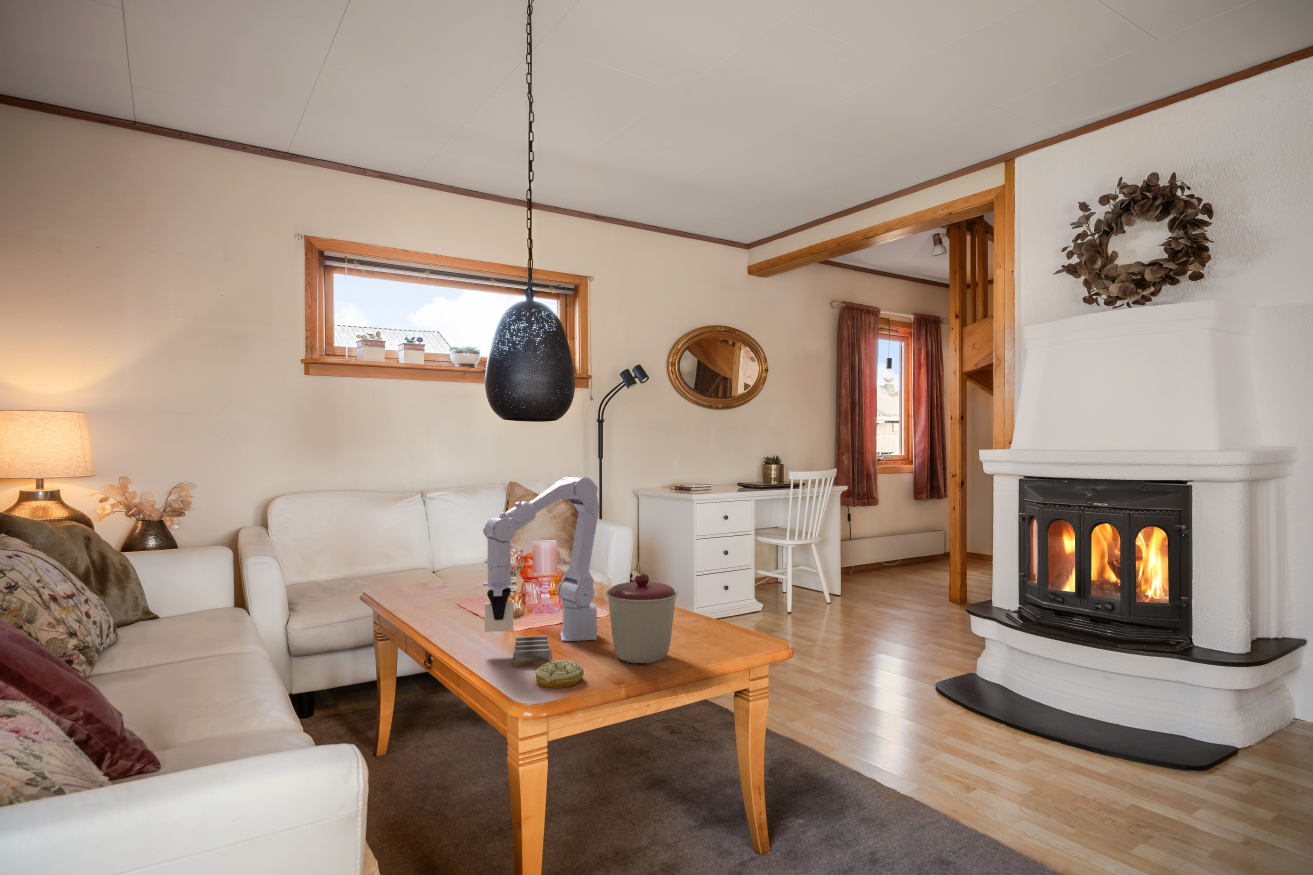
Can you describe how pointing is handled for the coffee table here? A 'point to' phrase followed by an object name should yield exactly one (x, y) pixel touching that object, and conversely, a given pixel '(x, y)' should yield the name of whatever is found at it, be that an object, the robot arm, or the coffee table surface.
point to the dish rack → (531, 651)
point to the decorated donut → (559, 674)
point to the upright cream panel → (499, 625)
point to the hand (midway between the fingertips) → (499, 618)
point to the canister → (641, 619)
